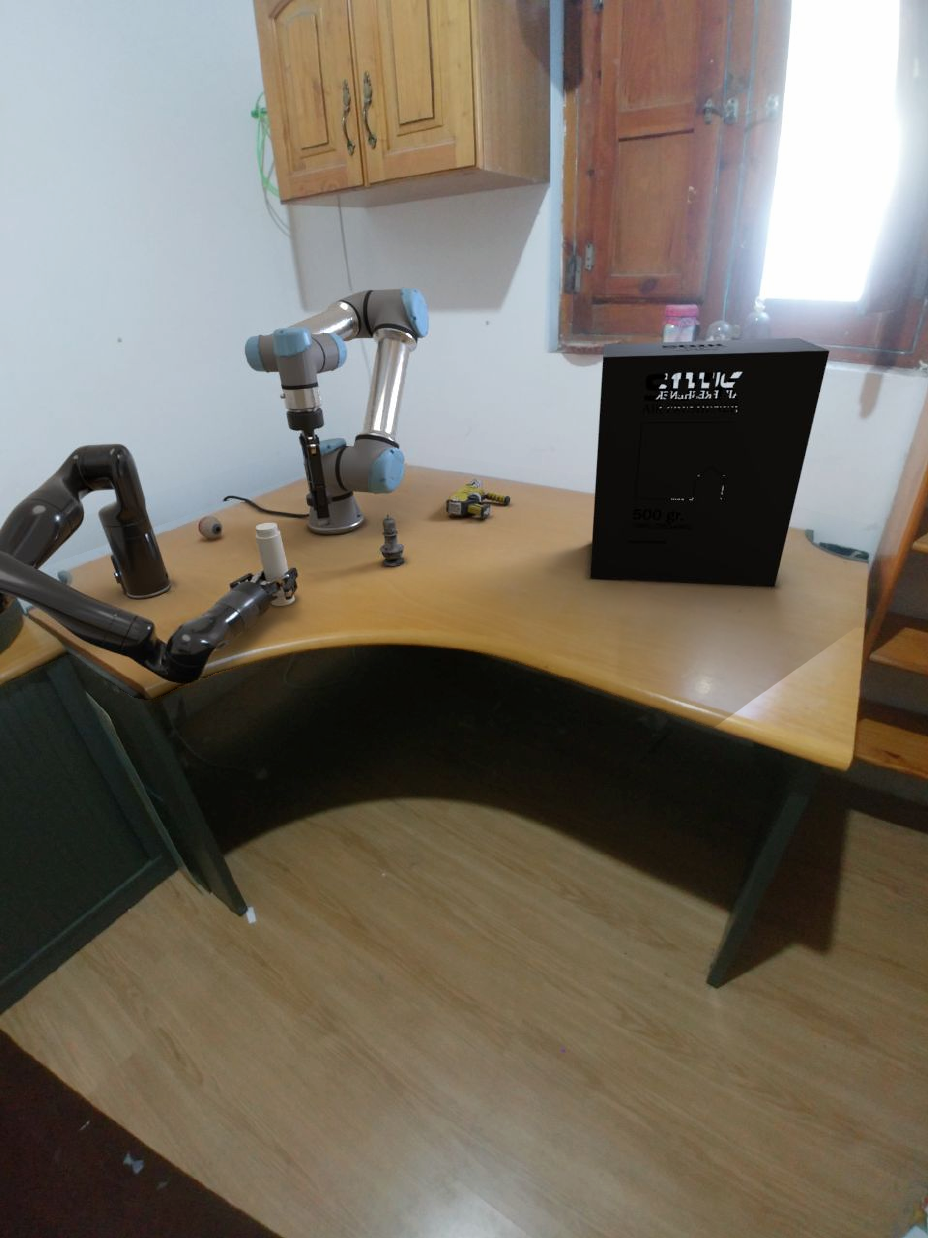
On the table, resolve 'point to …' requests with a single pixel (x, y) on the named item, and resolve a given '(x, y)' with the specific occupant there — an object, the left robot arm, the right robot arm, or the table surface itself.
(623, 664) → the table surface
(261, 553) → the jar
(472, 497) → the toy gun
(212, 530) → the eyeball
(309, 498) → the lid
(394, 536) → the grey stepped tapered figure
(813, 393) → the cardboard box
